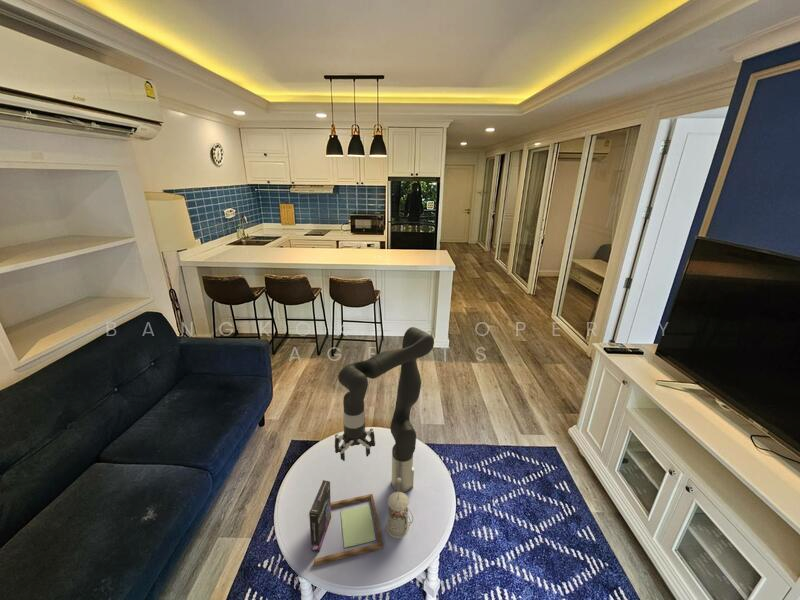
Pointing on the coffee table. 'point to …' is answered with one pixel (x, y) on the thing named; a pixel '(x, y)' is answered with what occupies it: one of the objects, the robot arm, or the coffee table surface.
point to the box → (320, 516)
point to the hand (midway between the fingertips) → (355, 456)
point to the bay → (355, 529)
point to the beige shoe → (398, 514)
